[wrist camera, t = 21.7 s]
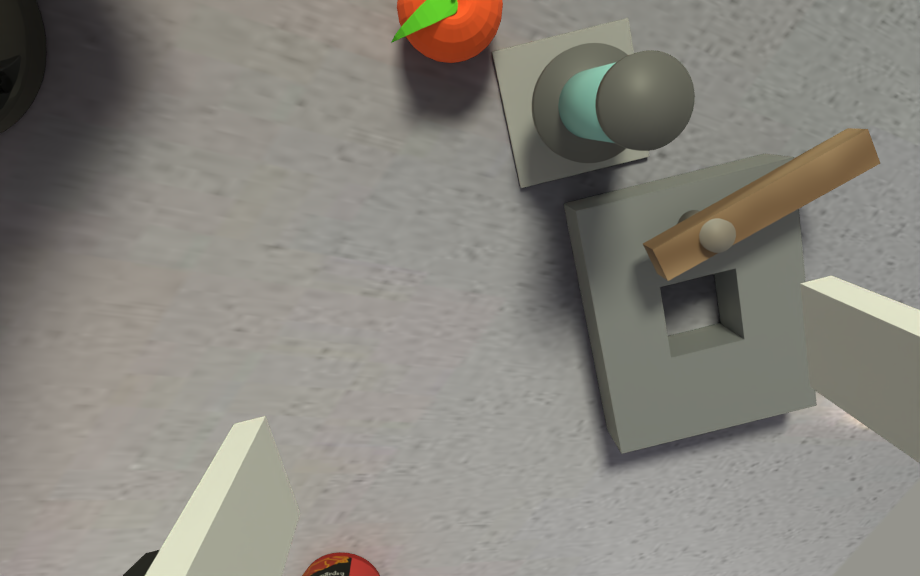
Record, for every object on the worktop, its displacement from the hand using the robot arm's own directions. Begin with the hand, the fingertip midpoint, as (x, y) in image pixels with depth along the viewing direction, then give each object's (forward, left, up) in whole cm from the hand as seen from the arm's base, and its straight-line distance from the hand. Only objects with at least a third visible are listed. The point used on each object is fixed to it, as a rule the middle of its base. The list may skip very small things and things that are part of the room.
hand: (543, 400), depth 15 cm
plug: (+10, +5, -34) cm, 36 cm away
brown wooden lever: (+20, -4, -30) cm, 36 cm away
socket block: (+16, -12, -35) cm, 40 cm away
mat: (+10, +5, -35) cm, 36 cm away
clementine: (+2, +13, -35) cm, 37 cm away
